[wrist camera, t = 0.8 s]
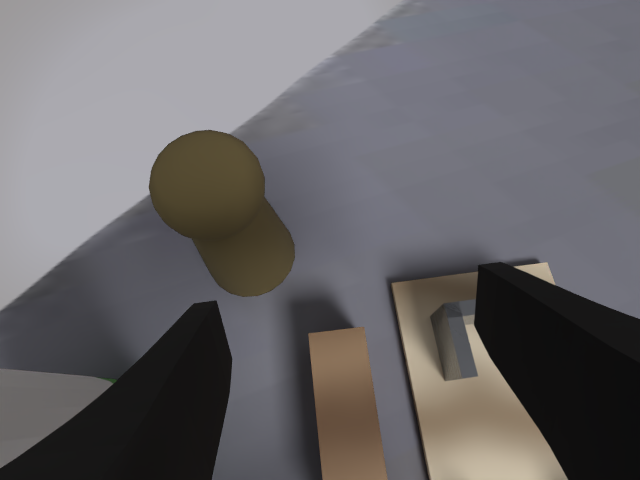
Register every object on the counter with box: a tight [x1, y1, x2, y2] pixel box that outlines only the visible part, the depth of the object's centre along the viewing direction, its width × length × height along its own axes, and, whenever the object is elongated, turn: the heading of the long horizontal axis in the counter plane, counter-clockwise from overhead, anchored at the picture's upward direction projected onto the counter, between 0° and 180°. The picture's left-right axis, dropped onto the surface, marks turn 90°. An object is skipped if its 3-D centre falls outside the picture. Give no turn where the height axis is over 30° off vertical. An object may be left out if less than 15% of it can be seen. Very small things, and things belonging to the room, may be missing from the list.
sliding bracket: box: [430, 299, 478, 381], centre depth 22 cm, size 4×6×4 cm, turn 97°
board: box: [391, 262, 568, 480], centre depth 22 cm, size 18×10×1 cm, turn 7°
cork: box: [149, 130, 295, 297], centre depth 22 cm, size 6×6×11 cm
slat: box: [308, 327, 387, 480], centre depth 21 cm, size 9×3×4 cm, turn 7°
